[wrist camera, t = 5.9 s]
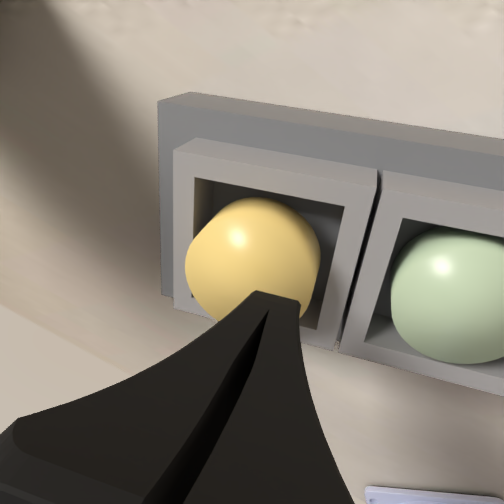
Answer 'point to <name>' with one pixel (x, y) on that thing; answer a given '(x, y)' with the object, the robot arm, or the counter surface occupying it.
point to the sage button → (451, 295)
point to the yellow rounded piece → (252, 256)
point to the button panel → (330, 208)
